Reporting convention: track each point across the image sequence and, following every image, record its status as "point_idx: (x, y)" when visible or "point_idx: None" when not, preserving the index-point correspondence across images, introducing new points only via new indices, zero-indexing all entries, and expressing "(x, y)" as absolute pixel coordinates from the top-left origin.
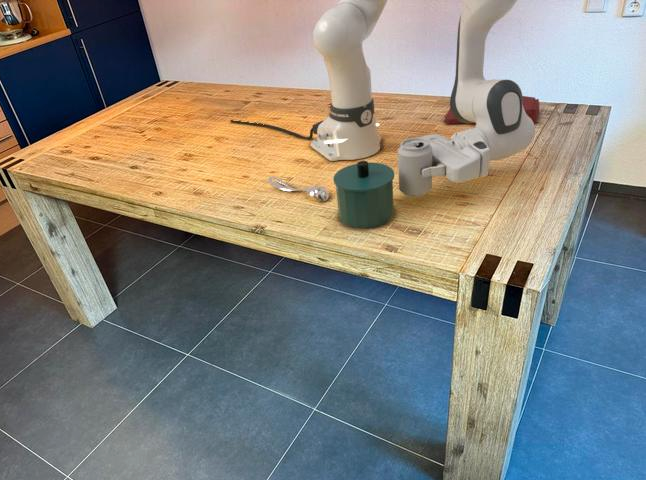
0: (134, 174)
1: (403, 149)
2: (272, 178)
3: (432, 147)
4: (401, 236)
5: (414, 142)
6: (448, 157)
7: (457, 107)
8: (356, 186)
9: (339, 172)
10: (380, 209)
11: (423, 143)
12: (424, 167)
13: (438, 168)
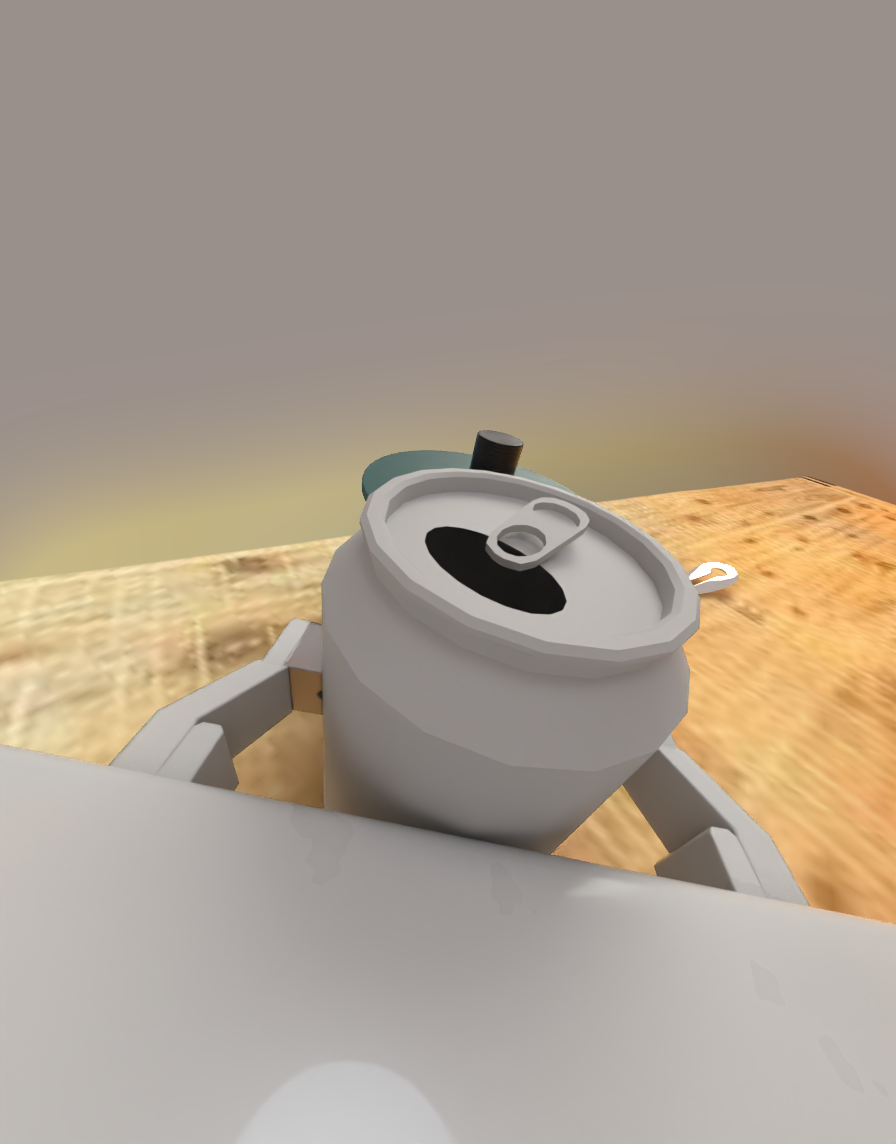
0: (781, 510)
1: (502, 496)
2: (729, 571)
3: (677, 1071)
4: (260, 608)
5: (592, 581)
6: (79, 956)
7: None
8: (426, 459)
9: (555, 485)
10: None
11: (640, 756)
12: (321, 643)
13: (181, 706)
